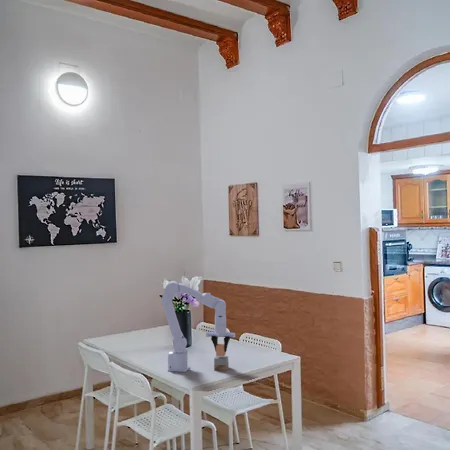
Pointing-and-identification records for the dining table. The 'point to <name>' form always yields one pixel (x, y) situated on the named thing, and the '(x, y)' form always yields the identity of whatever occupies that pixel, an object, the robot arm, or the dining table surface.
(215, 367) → the walnut slab
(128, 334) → the dining table surface
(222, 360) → the slate slab
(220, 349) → the tan clay cube
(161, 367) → the dining table surface
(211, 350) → the dining table surface
